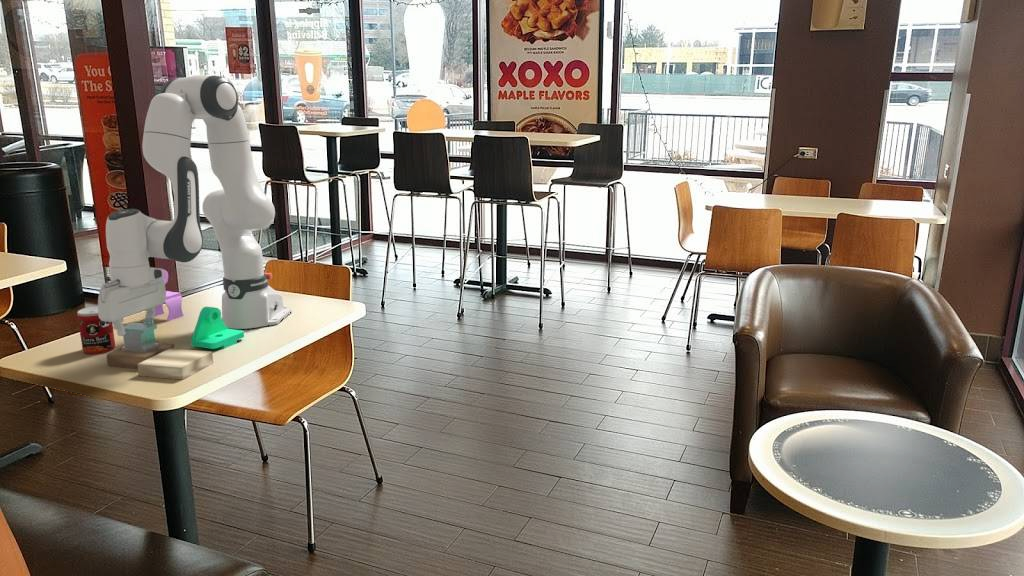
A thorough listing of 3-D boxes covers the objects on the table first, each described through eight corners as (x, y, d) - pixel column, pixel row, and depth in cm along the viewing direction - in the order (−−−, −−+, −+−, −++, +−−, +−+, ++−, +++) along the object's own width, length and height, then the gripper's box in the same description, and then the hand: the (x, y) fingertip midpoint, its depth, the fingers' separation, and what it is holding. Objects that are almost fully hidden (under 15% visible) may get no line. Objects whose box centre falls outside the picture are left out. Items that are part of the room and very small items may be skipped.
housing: (135, 345, 198) (132, 322, 196) (159, 346, 196) (156, 324, 195) (121, 351, 193) (118, 328, 191) (146, 353, 191) (143, 330, 190)
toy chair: (165, 322, 228) (159, 273, 225) (144, 319, 232) (138, 270, 228) (187, 315, 236) (182, 267, 232) (166, 312, 239) (160, 265, 235)
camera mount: (214, 353, 201) (210, 315, 199) (192, 349, 204) (188, 312, 201) (246, 340, 212) (243, 304, 209) (224, 337, 215) (221, 301, 212)
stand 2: (171, 359, 196) (170, 348, 195) (213, 363, 193) (212, 351, 192) (139, 375, 184) (137, 364, 183) (183, 379, 181) (181, 367, 181)
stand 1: (138, 352, 202) (136, 341, 201) (175, 354, 199) (173, 343, 198) (107, 365, 191) (106, 354, 190) (146, 369, 189) (144, 357, 188)
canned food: (79, 355, 199) (73, 314, 196) (87, 346, 206) (81, 307, 204) (112, 353, 201) (106, 312, 198) (118, 344, 208) (113, 304, 206)
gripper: (110, 285, 179) (117, 342, 182) (168, 268, 198) (173, 320, 202) (87, 284, 180) (94, 340, 184) (147, 267, 200) (152, 319, 203)
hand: (136, 330), depth 193 cm, fingers open, 8 cm apart
